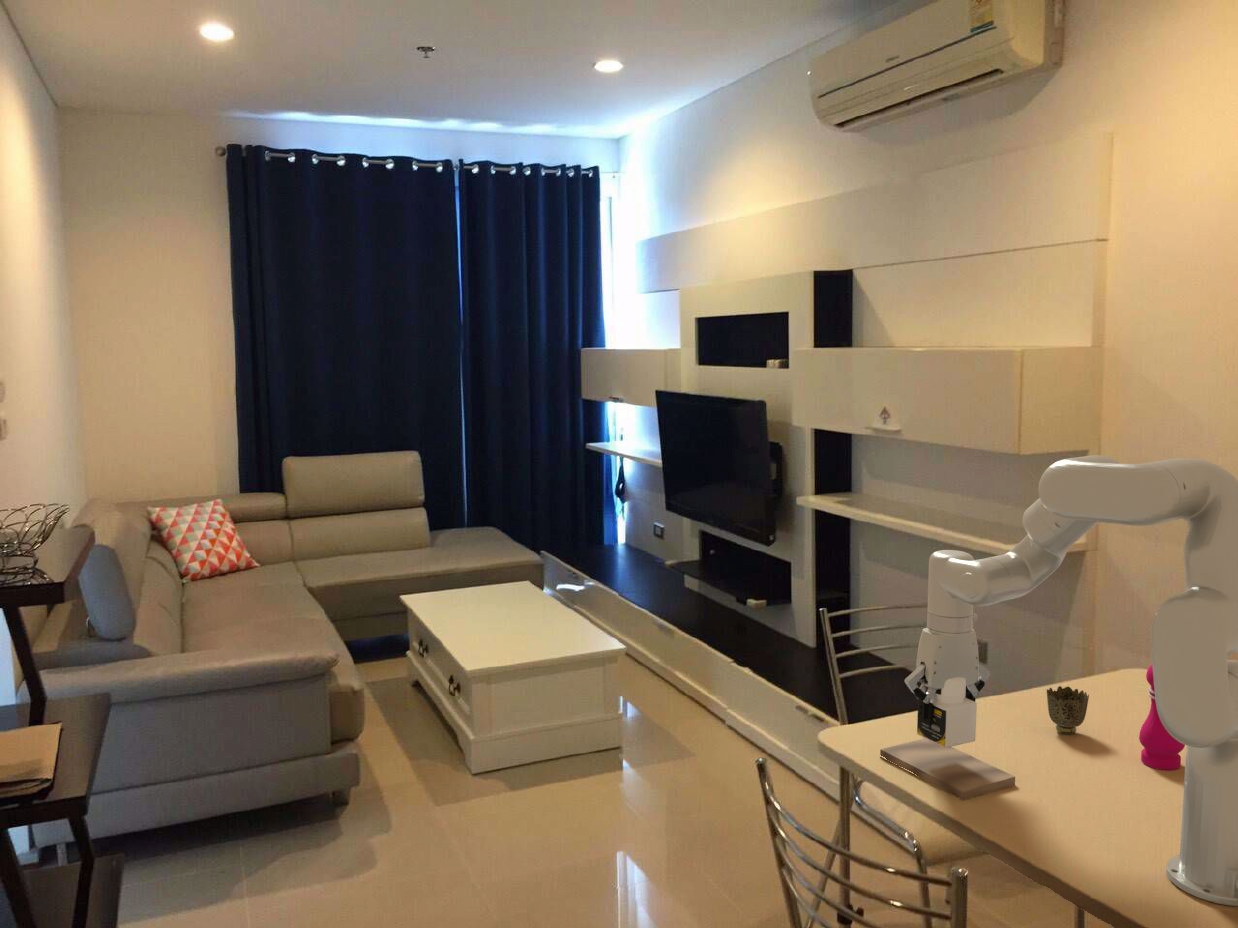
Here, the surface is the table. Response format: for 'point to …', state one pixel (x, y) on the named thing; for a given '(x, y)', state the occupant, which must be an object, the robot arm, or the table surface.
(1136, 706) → the table surface
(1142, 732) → the pepper mill
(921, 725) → the medicine bottle
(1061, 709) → the cup
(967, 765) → the walnut board
